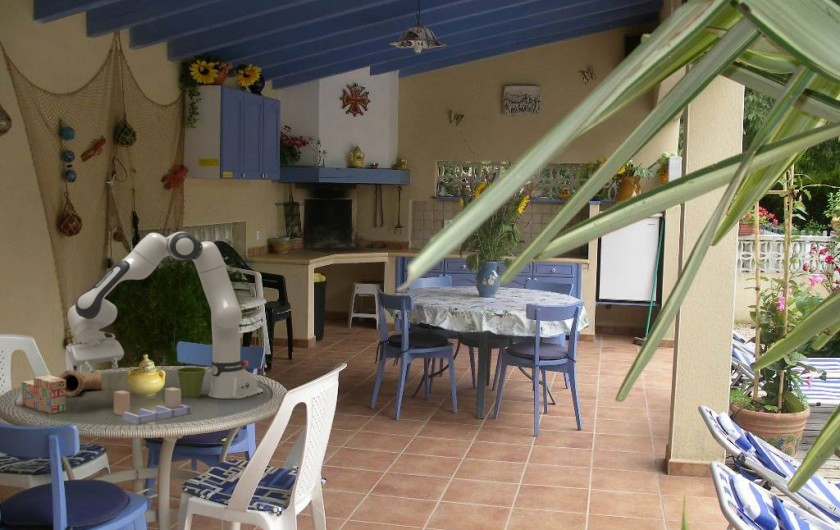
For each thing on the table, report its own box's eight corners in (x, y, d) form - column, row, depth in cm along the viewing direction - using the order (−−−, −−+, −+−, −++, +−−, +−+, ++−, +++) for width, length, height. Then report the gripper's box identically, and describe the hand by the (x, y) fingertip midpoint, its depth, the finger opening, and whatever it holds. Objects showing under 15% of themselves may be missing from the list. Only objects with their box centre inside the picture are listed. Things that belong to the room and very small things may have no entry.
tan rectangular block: (122, 414, 331) (122, 390, 331) (130, 416, 328) (129, 392, 327) (114, 415, 329) (113, 391, 328) (121, 418, 325) (121, 393, 325)
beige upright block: (173, 411, 333) (173, 387, 332) (181, 413, 330) (180, 389, 329) (165, 412, 330) (164, 388, 330) (172, 415, 327) (172, 390, 326)
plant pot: (196, 401, 353) (195, 373, 352) (170, 399, 357) (170, 371, 356) (212, 395, 364) (212, 368, 363) (187, 393, 368) (187, 366, 367)
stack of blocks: (21, 405, 343) (21, 373, 342) (37, 402, 348) (36, 371, 347) (50, 414, 330) (50, 381, 329) (66, 411, 335) (66, 379, 334)
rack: (175, 411, 337) (175, 402, 336) (190, 415, 330) (190, 406, 330) (122, 421, 320) (122, 412, 320) (137, 426, 314) (137, 417, 313)
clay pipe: (54, 401, 366) (58, 397, 353) (52, 375, 368) (56, 370, 355) (102, 395, 375) (108, 391, 362) (100, 370, 377) (105, 365, 364)
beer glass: (69, 381, 387) (69, 347, 386) (85, 381, 387) (85, 347, 385) (62, 385, 380) (62, 350, 379) (79, 385, 380) (78, 350, 378)
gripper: (67, 339, 332) (80, 368, 326) (117, 333, 347) (131, 361, 341) (61, 349, 335) (75, 379, 329) (111, 343, 350) (125, 371, 344)
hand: (104, 370), depth 335 cm, fingers open, 8 cm apart
